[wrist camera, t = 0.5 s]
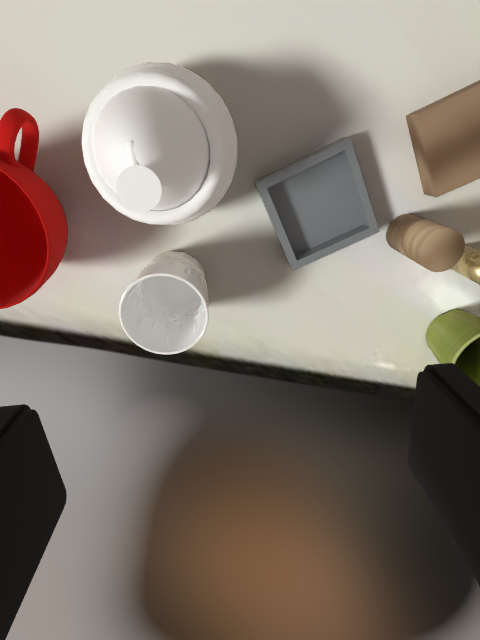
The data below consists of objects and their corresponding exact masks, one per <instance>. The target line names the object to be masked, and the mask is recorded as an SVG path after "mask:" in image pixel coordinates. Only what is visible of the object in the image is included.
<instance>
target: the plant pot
mask: <svg viewBox="0 0 480 640" xmlns="http://www.w3.org/2000/svg"><path fill="white" fill-rule="evenodd" d="M426 340H427V344H428V346H429V348H430V349H431V351H432V352H433V354H434V355H435V357H436V358H437V360H438V361H439V363H440V364H444V363H453V364H455V365H456V366H457V367H458V368H460V369H461V370H462V371H463V372H464V373H465V374H466V375H467V376H468V377H470V378H471V379H472V380H473V381H474V382H475V383H476V384H477V385H478V386H479V387H480V318H479V317H477V316H475V315H473V314H470V313H468V312H466V311H462V310H451V311H449V312H447V313H445V314H443V315H440V316H438V317H436V318H435V319H434V320H433V321H432V323H431V324H430V326H429V327H428V330H427V333H426Z"/></svg>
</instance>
